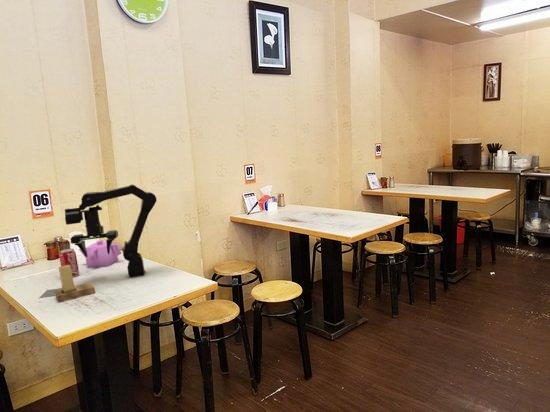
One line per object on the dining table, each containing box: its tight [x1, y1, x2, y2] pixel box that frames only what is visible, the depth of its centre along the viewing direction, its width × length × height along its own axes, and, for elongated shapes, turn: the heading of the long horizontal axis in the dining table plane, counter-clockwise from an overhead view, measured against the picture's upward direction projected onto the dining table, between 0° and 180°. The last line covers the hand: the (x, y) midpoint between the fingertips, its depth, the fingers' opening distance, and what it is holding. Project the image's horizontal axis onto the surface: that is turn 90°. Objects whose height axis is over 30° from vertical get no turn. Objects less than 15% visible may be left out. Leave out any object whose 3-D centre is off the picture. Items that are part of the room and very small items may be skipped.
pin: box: [58, 265, 75, 294], centre depth 169 cm, size 4×4×13 cm
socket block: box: [55, 281, 96, 303], centre depth 171 cm, size 14×8×3 cm, turn 124°
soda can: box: [58, 248, 80, 278], centre depth 198 cm, size 7×7×13 cm
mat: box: [38, 287, 62, 299], centre depth 177 cm, size 10×10×1 cm
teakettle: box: [78, 239, 122, 269], centre depth 217 cm, size 17×17×12 cm
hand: (97, 255), depth 185 cm, fingers open, 9 cm apart
